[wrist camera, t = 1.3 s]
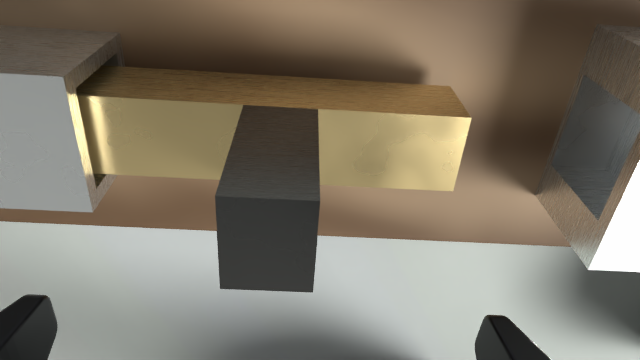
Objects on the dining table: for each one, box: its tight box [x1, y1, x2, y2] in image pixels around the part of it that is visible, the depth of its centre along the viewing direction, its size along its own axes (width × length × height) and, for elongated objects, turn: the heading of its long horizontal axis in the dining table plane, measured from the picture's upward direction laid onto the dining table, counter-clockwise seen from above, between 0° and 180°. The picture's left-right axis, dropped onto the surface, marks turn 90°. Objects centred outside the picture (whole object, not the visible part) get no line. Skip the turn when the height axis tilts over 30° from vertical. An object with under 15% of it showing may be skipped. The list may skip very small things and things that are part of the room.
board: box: [0, 0, 640, 247], centre depth 21 cm, size 14×34×1 cm, turn 86°
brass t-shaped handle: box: [75, 65, 471, 292], centre depth 16 cm, size 3×22×8 cm, turn 86°
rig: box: [0, 24, 640, 272], centre depth 18 cm, size 8×32×5 cm, turn 86°
